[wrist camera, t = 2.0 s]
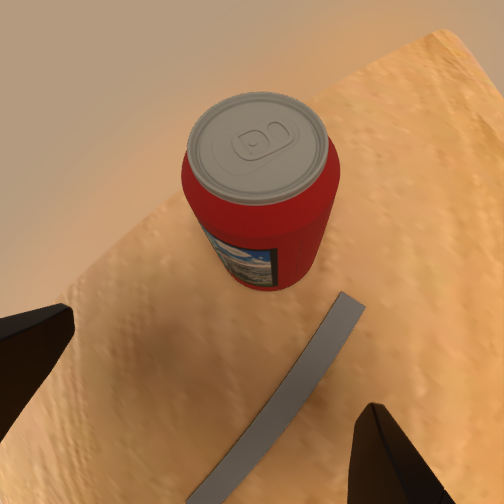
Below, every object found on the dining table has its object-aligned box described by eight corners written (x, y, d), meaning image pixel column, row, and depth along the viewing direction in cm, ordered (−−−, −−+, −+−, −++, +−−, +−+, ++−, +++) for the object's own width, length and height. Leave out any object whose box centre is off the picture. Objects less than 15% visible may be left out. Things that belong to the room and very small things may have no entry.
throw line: (209, 515, 16) (208, 516, 16) (186, 500, 17) (185, 502, 16) (364, 307, 20) (365, 306, 20) (341, 292, 21) (341, 291, 21)
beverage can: (206, 231, 23) (147, 124, 12) (285, 190, 24) (285, 64, 13) (249, 312, 21) (214, 256, 10) (333, 263, 22) (383, 166, 10)
